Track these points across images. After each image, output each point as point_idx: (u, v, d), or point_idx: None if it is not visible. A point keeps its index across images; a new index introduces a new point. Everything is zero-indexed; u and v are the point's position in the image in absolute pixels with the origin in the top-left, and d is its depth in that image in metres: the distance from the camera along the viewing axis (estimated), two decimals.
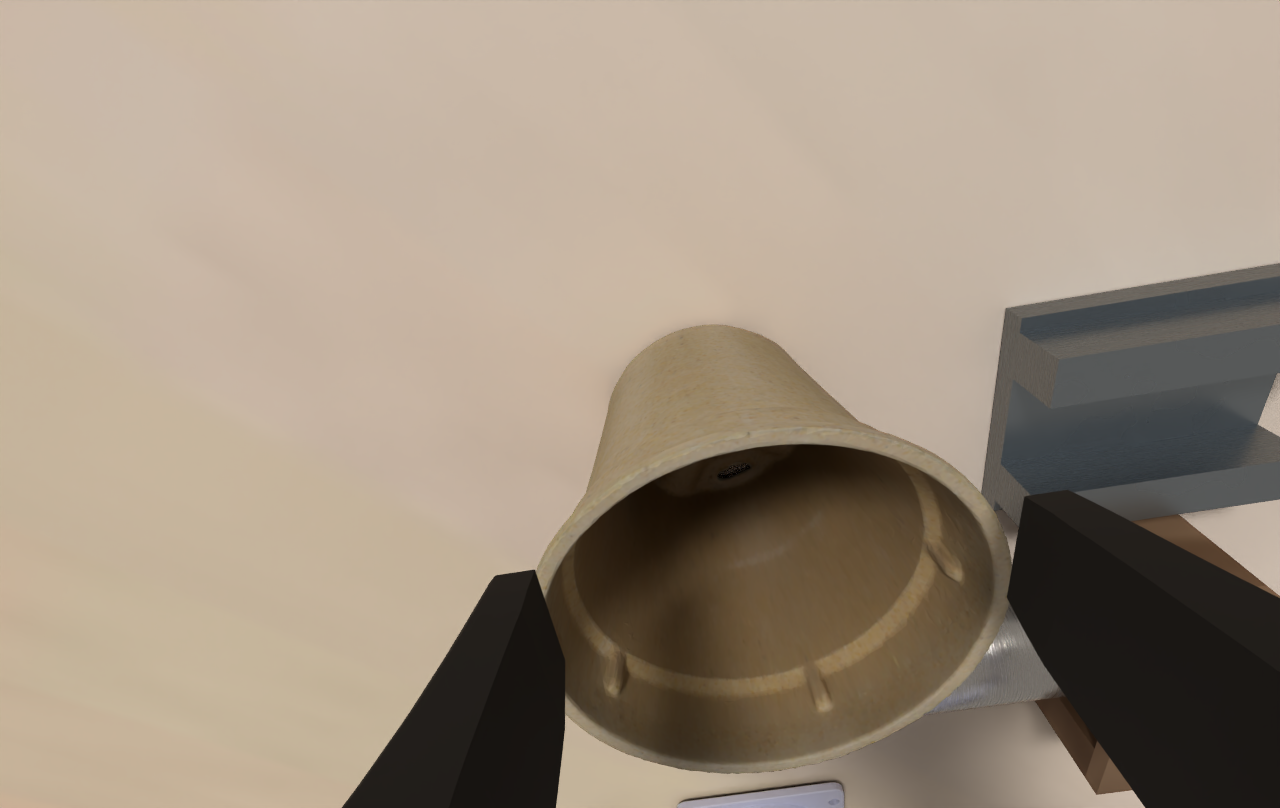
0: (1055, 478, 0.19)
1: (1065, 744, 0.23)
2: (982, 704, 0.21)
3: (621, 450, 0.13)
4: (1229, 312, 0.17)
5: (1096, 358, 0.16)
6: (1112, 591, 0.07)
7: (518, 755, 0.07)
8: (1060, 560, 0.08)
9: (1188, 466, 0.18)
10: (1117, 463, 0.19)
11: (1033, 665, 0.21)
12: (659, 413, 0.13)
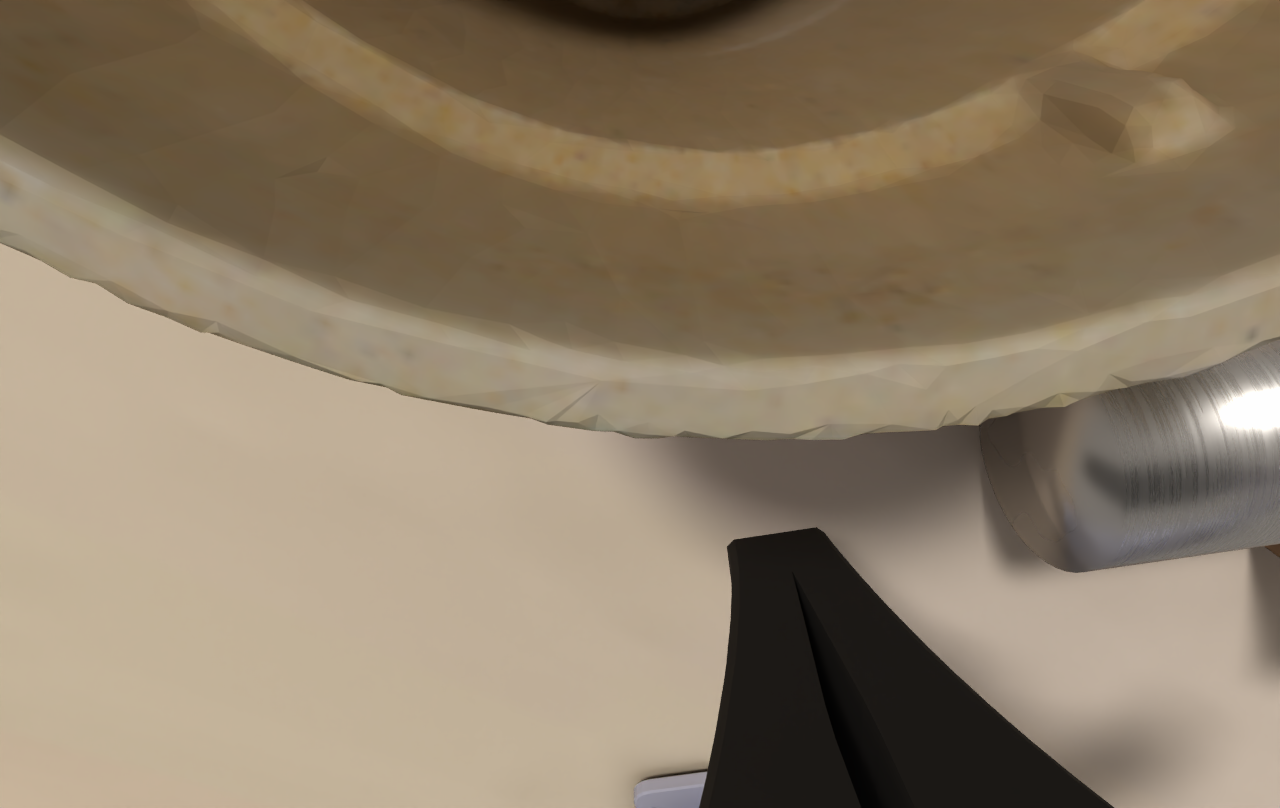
0: None
1: None
2: None
3: None
4: None
5: None
6: (813, 634, 0.07)
7: None
8: None
9: None
10: None
11: None
12: None
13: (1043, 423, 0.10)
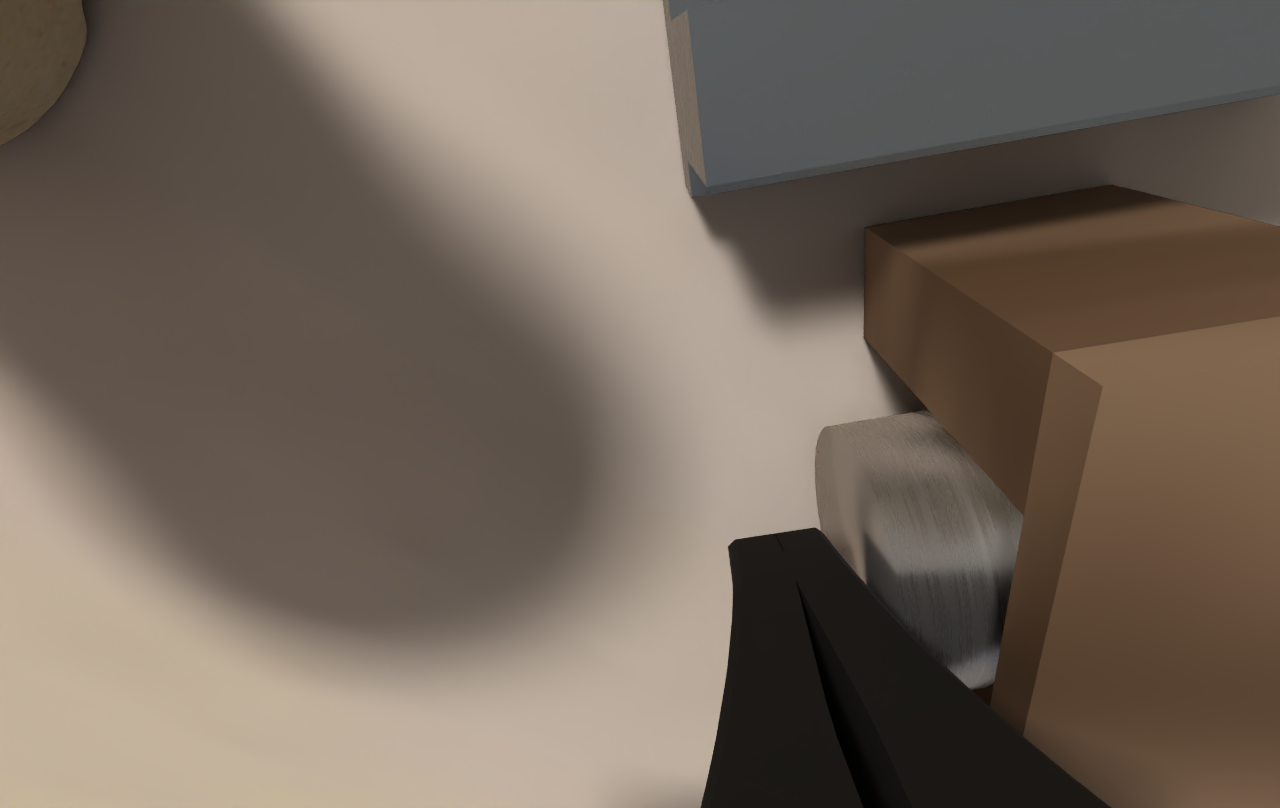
0: None
1: None
2: None
3: None
4: None
5: None
6: (811, 634, 0.07)
7: None
8: None
9: None
10: None
11: None
12: None
13: (851, 522, 0.09)
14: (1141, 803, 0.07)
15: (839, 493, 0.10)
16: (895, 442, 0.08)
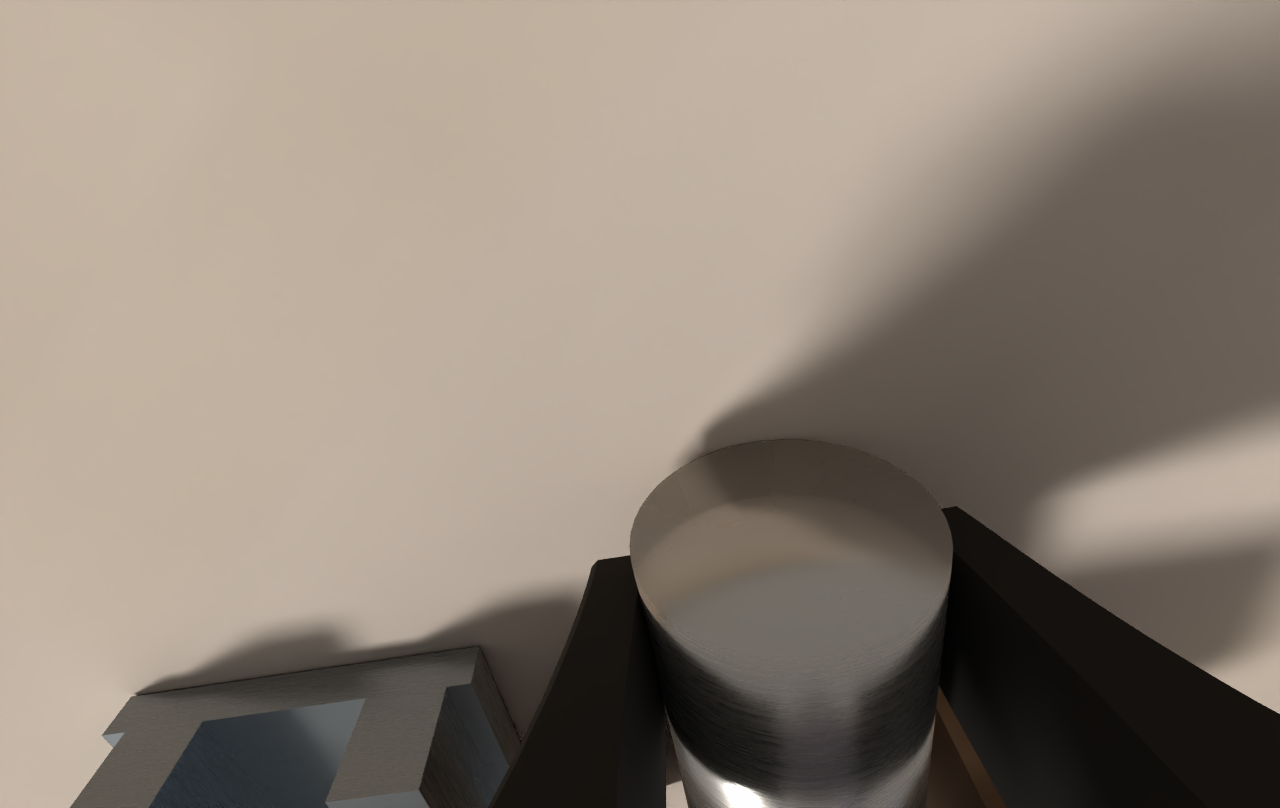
0: None
1: None
2: None
3: None
4: None
5: None
6: (979, 610, 0.07)
7: (645, 738, 0.07)
8: None
9: None
10: None
11: None
12: None
13: None
14: None
15: None
16: None
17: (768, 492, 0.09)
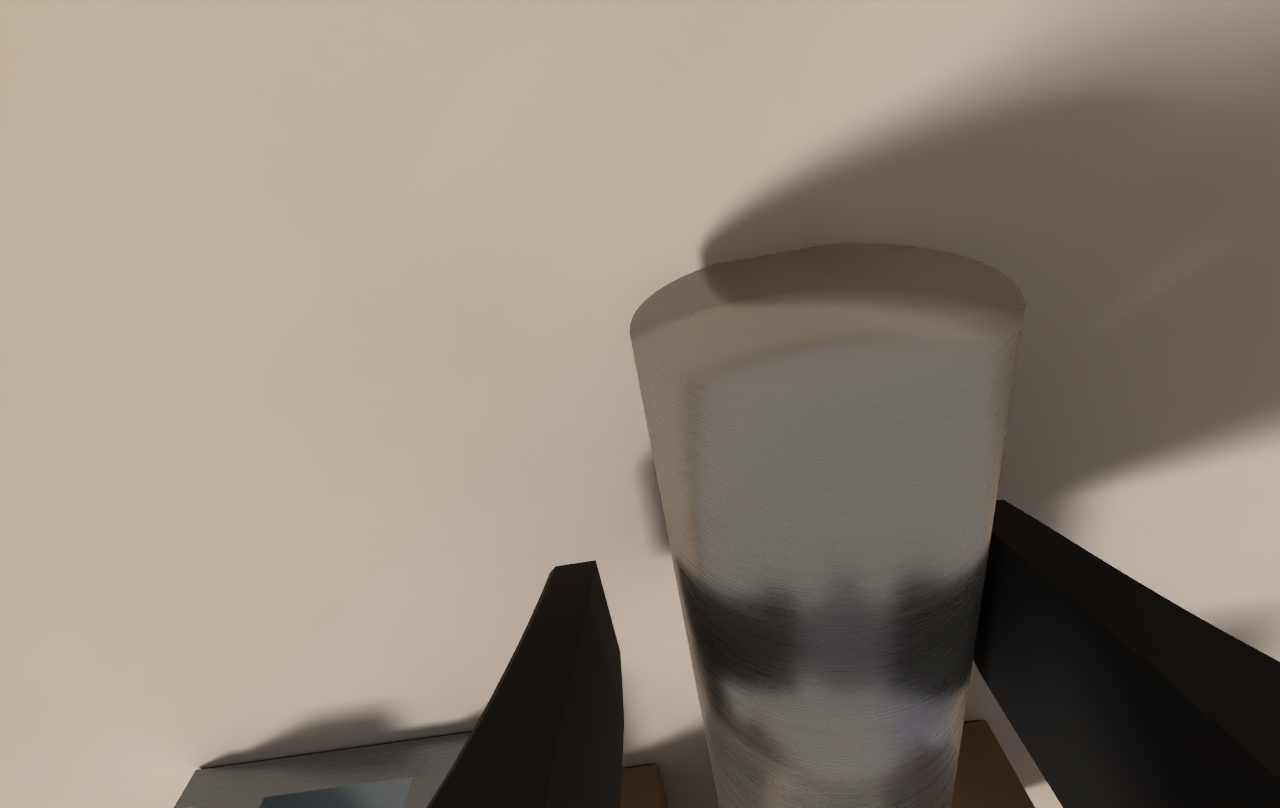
0: None
1: None
2: (937, 807, 0.09)
3: None
4: None
5: None
6: (1034, 602, 0.07)
7: (592, 745, 0.07)
8: (991, 570, 0.08)
9: None
10: None
11: (842, 780, 0.08)
12: None
13: None
14: None
15: None
16: None
17: (775, 285, 0.07)
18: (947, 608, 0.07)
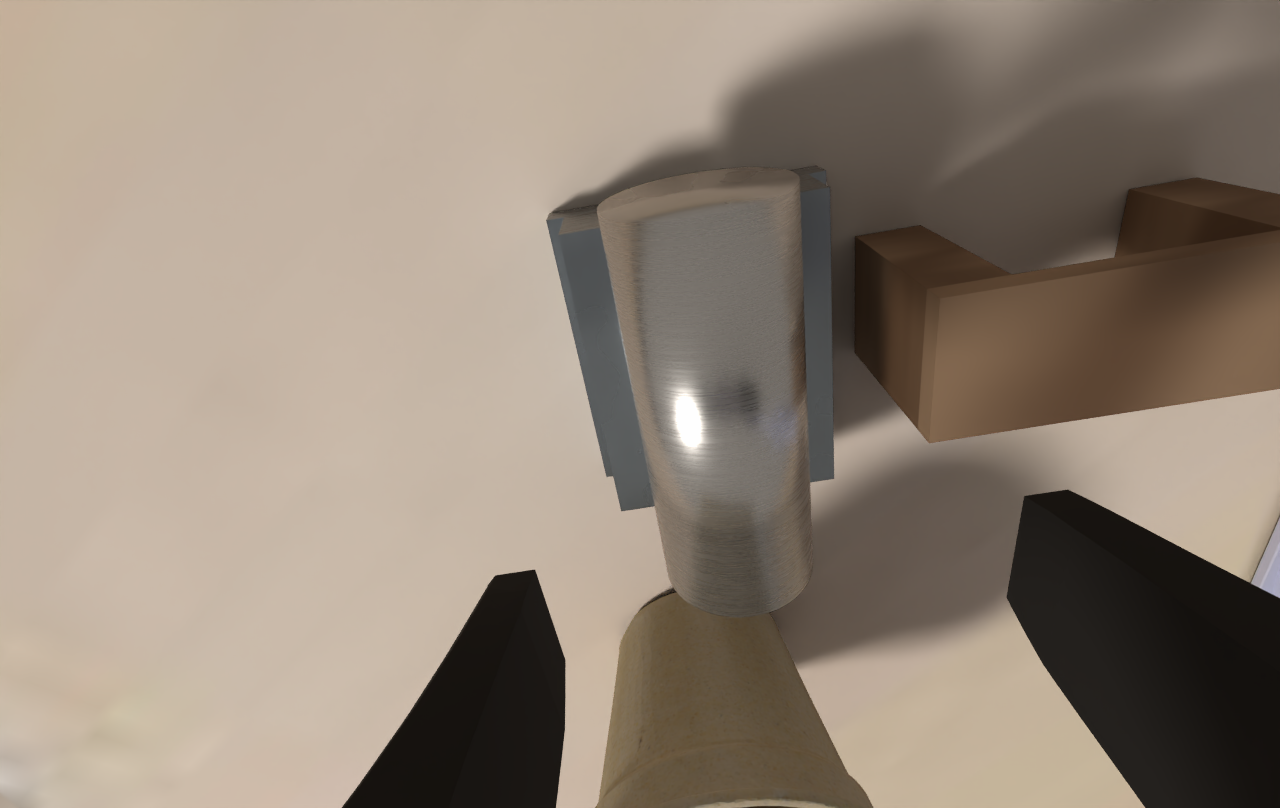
0: None
1: None
2: (768, 527, 0.14)
3: None
4: None
5: (620, 483, 0.17)
6: (1112, 591, 0.07)
7: (518, 756, 0.07)
8: (1060, 560, 0.08)
9: None
10: None
11: (695, 478, 0.14)
12: None
13: None
14: (1225, 331, 0.13)
15: None
16: None
17: (690, 184, 0.13)
18: (741, 366, 0.12)
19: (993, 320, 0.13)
